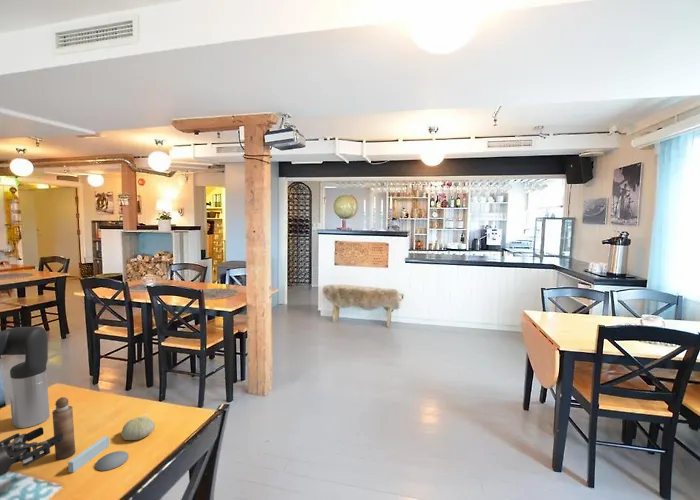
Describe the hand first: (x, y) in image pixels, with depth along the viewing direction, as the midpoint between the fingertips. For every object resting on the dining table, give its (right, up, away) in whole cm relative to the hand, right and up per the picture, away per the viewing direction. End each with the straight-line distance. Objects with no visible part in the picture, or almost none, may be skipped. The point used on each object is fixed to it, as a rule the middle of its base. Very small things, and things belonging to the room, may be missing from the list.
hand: (52, 433), depth 104 cm
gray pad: (+17, -9, +1) cm, 19 cm away
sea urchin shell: (+17, -8, +14) cm, 23 cm away
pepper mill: (+1, -8, +4) cm, 9 cm away
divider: (+9, -8, +2) cm, 13 cm away
